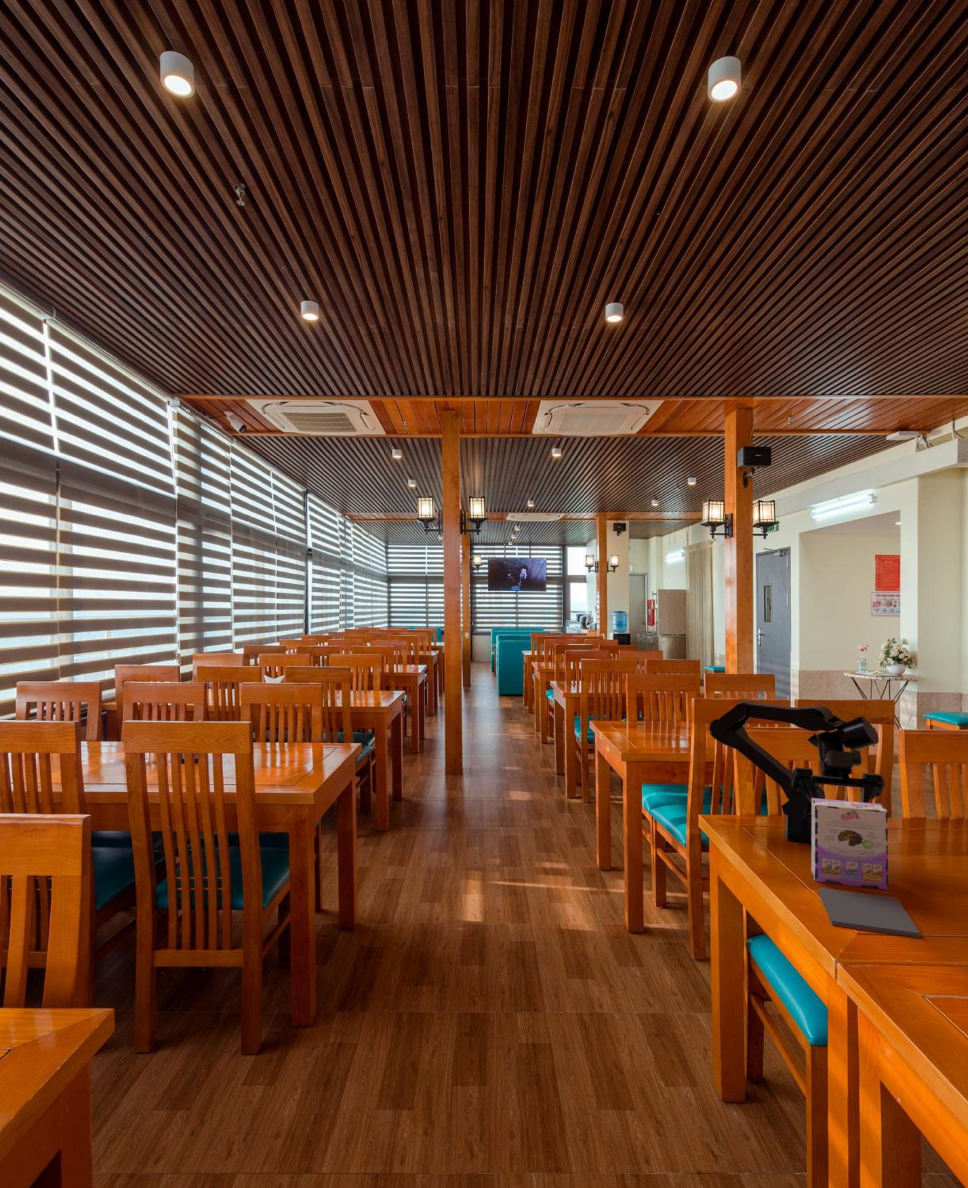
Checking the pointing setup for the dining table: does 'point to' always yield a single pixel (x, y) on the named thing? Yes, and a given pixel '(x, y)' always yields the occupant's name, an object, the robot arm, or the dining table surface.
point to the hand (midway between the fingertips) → (841, 815)
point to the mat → (867, 912)
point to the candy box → (849, 843)
